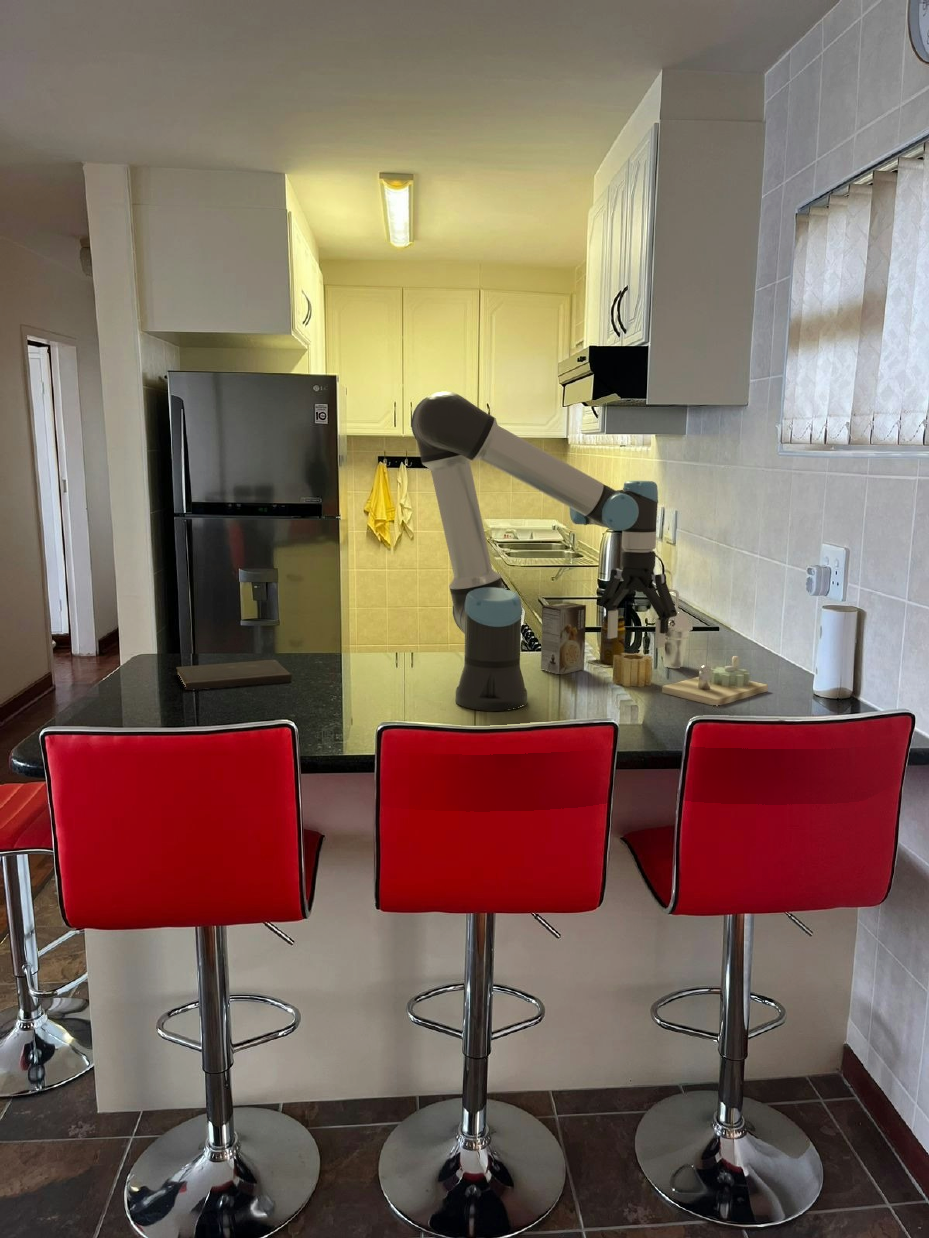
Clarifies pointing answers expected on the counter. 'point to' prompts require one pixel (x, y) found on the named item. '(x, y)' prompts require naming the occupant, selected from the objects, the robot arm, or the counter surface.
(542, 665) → the brown and white box
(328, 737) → the counter surface
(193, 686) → the hardcover book
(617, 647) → the condiment
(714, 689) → the board
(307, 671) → the counter surface
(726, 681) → the crank gear
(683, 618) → the cup with straw
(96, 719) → the counter surface
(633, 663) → the brass gear
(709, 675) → the steel peg
